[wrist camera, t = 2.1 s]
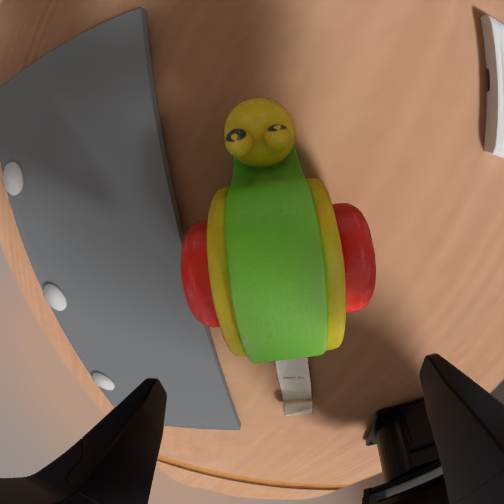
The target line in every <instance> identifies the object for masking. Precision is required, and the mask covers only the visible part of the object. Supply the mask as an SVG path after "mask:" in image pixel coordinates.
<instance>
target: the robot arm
mask: <svg viewBox="0 0 504 504" xmlns="http://www.w3.org/2000/svg"><path fill="white" fill-rule="evenodd" d="M420 381H421V385H422V390H423V395H424V400H421V401H417V402H414V403H410V404H406V405H402V406H398V407H393V408H389V409H385V410H381V411H379V412H377V413H376V415H375V418H374V421H373V424H372V426H371V429H370V431H369V434H368V436H367V439H366V445H367V446H369V445H375V444H377V446H378V451H379V456H380V461H381V466H382V472H383V477H384V482H385V483H384V484H382V485H379V486H376V487H373V488H367V489H364V497H363V499H362V504H504V405H503V404H502V403H501V402H499V401H498V400H497V399H496V398H494V397H493V396H492V395H491V394H490V393H488V392H487V391H486V390H484V389H483V388H482V387H481V386H479V385H478V384H477V383H475V382H474V381H473V380H472V379H470V378H469V377H468V376H466V375H465V374H464V373H462V372H461V371H460V370H458V369H457V368H456V367H455V366H453V365H452V364H451V363H449V362H448V361H447V360H445V359H444V358H443V357H441V356H440V355H439V354H436V353H434V354H430V355H427V356H426V357H425V359H424V361H423V364H422V367H421V370H420ZM166 403H167V393H166V391H165V389H164V387H163V386H162V384H161V382H160V380H159V379H157V378H146V379H145V380H144V381H143V382H142V383H141V384H140V385H139V386H138V387H137V388H135V389H134V390H133V391H132V392H131V393H130V394H129V395H128V396H127V397H126V398H125V399H124V400H123V401H122V402H120V403H119V404H118V405H117V406H116V407H115V408H114V409H113V410H112V411H111V412H110V413H109V414H108V415H106V416H105V417H104V418H103V419H102V420H101V421H100V422H99V423H98V424H97V425H96V426H94V427H93V428H92V429H91V430H90V431H89V432H88V433H87V434H86V435H85V436H84V437H83V438H82V439H80V440H79V441H78V442H77V443H76V444H75V445H73V446H72V447H71V448H70V449H69V450H68V451H66V452H65V453H64V454H62V455H61V456H60V457H58V458H57V459H56V460H54V461H53V462H52V463H50V464H49V465H47V466H46V467H44V468H43V469H42V470H40V471H39V472H37V473H35V474H33V475H31V476H28V477H22V478H0V504H148V499H149V495H150V489H151V485H152V480H153V476H154V470H155V466H156V462H157V457H158V453H159V449H160V444H161V440H162V435H163V428H164V419H165V411H166Z"/></svg>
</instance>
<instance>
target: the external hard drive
mask: <svg viewBox="0 0 504 504" xmlns="http://www.w3.org/2000/svg"><path fill="white" fill-rule="evenodd" d="M480 18H481V24H482V30H483V38H484V47H485V58H486V68H487V69H488V71H489V91H487V114H486V131H485V143H484V151H485V152H488V153H490V154H493V155H496V156H499V157H501V158H504V25H503V24H502V23H500V22H499V21H497V20H496V19H494V18H492V17H491V16H489V15H484V16H481V17H480Z"/></svg>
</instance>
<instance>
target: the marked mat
mask: <svg viewBox="0 0 504 504" xmlns="http://www.w3.org/2000/svg"><path fill="white" fill-rule="evenodd" d="M0 161H1V166H2V171H3V182H4V186H5V188H6V190H7V192H8V196H9V200H10V204H11V207H12V210H13V214H14V217H15V220H16V223H17V227H18V230H19V233H20V235H21V238H22V241H23V244H24V247H25V249H26V252H27V255H28V257H29V260H30V262H31V265H32V267H33V269H34V272H35V274H36V276H37V279H38V281H39V283H40V285H41V288H42V290H43V294H44V297H45V299H46V301H47V302H48V304H49V305H50V306H51V308H52V310H53V312H54V314H55V316H56V318H57V320H58V322H59V324H60V325H61V327H62V329H63V331H64V333H65V334H66V336H67V338H68V340H69V341H70V343H71V345H72V346H73V348H74V350H75V351H76V353H77V355H78V356H79V358H80V359H81V361H82V362H83V364H84V365H85V367H86V369H87V370H88V372H89V373H90V375H91V376H92V379H93V381H94V382H95V383H96V384H97V385H98V386H99V387H100V389H101V390H102V392H103V393H104V394H105V396H106V397H107V398H108V400H109V401H110V402H111V404H112V405H113V406H114V407H116V406H117V405H118V404H119V403H120V402H122V401H123V400H124V399H125V398H126V397H127V396H128V395H129V394H130V393H131V392H132V391H133V390H134V389H135V388H137V387H138V386H139V385H140V384H141V383H142V382H143V381H144V380H145V379H146V378H157V379H159V380H160V382H161V384H162V386H163V387H164V389H165V391H166V393H167V403H166V411H165V419H164V425H165V426H174V427H185V428H198V429H217V430H240V426H241V424H240V421H239V418H238V415H237V413H236V410H235V407H234V404H233V401H232V398H231V395H230V392H229V389H228V386H227V384H226V381H225V377H224V374H223V371H222V368H221V365H220V362H219V359H218V356H217V353H216V349H215V346H214V343H213V340H212V336H211V333H210V330H209V326H206V325H204V324H202V323H200V322H199V321H198V320H197V319H196V318H195V316H194V315H193V314H192V312H191V310H190V308H189V306H188V303H187V300H186V297H185V294H184V290H183V285H182V279H181V253H182V245H183V241H184V233H183V229H182V224H181V220H180V216H179V211H178V207H177V203H176V198H175V193H174V189H173V184H172V179H171V174H170V169H169V164H168V159H167V154H166V149H165V144H164V138H163V133H162V127H161V121H160V115H159V109H158V103H157V96H156V90H155V83H154V76H153V69H152V61H151V53H150V44H149V35H148V26H147V15H146V11H145V10H144V9H143V8H141V7H140V8H138V9H135V10H132V11H130V12H127V13H125V14H122V15H120V16H118V17H115V18H113V19H111V20H108V21H106V22H104V23H102V24H100V25H98V26H96V27H93V28H91V29H89V30H87V31H85V32H84V33H82V34H80V35H78V36H76V37H74V38H72V39H71V40H69V41H67V42H65V43H64V44H62V45H60V46H58V47H57V48H55V49H53V50H52V51H50V52H49V53H47V54H45V55H44V56H42V57H41V58H39V59H38V60H36V61H35V62H33V63H32V64H31V65H29V66H28V67H26V68H25V69H23V70H22V71H21V72H19V73H18V74H17V75H15V76H14V77H13V78H11V79H10V80H9V81H8V82H6V83H5V84H4V85H3V86H1V87H0Z"/></svg>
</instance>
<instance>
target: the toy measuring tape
mask: <svg viewBox="0 0 504 504" xmlns="http://www.w3.org/2000/svg"><path fill="white" fill-rule="evenodd" d="M224 138H225V147H226V149H227V151H228V152H229V153H230V154H232V155H233V175H232V181H231V185H230V187H225V188H221V189H219V190H217V191H216V193H215V195H214V197H213V199H212V202H211V205H210V208H209V214H208V220H203V221H200V222H198V223H196V224H194V225H193V226H192V227H191V228H190V229H189V230H188V232H187V233H186V235H185V237H184V241H183V245H182V253H181V279H182V285H183V290H184V294H185V297H186V300H187V303H188V306H189V308H190V310H191V312H192V314H193V315H194V316H195V318H196V319H197V320H198V321H199V322H200V323H202V324H204V325H206V326H209V327H220V328H221V331H222V334H223V337H224V339H225V341H226V344H227V346H228V347H229V349H230V351H231V352H232V353H233V354H235V355H237V356H247V357H248V358H249V360H250V361H252V362H253V363H260V362H269V361H275V363H274V364H275V366H276V370H277V376H278V381H279V385H280V388H281V393H282V398H283V407H284V416H290V415H303V414H312V413H313V401H312V392H311V379H310V372H309V365H308V357H312V356H319V355H322V354H324V353H325V351H326V350H332V349H336V348H338V347H339V346H340V345H341V343H342V341H343V338H344V331H345V322H346V313H349V312H354V311H358V310H360V309H362V308H364V307H365V306H366V305H367V304H368V303H369V301H370V299H371V297H372V295H373V291H374V288H375V278H376V265H375V253H374V248H373V243H372V238H371V234H370V230H369V227H368V224H367V222H366V220H365V218H364V216H363V214H362V213H361V212H360V211H359V209H358V208H356V207H354V206H353V205H350V204H347V203H342V204H333V205H332V203H331V200H330V197H329V194H328V191H327V189H326V187H325V185H324V183H323V182H322V181H321V180H320V179H317V178H309V179H306V178H305V176H304V174H303V171H302V168H301V166H300V162H299V159H298V156H297V152H296V148H295V145H294V141H295V126H294V122H293V119H292V117H291V115H290V114H289V113H288V111H287V110H286V109H285V108H284V107H283V106H282V105H280V104H279V103H277V102H276V101H273V100H270V99H266V98H252V99H248V100H246V101H243V102H241V103H240V104H238V105H237V106H235V107H234V109H233V110H232V111H231V112H230V113H229V115H228V117H227V119H226V122H225V126H224Z"/></svg>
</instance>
